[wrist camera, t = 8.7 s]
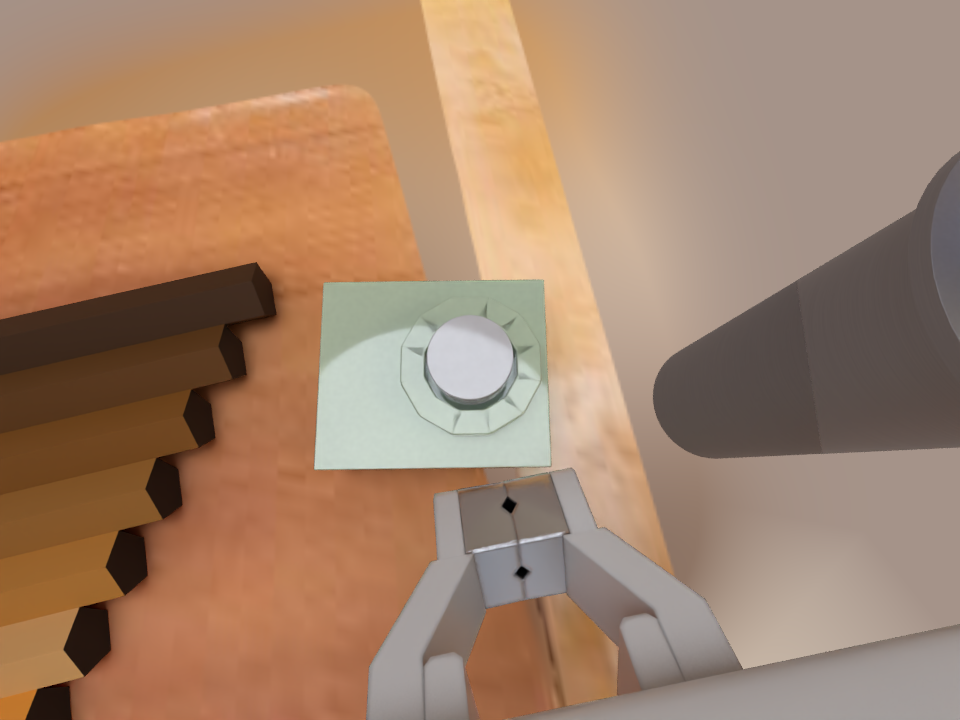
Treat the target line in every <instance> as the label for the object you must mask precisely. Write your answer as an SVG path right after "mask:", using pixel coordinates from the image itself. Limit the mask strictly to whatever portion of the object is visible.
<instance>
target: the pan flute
mask: <svg viewBox="0 0 960 720" xmlns="http://www.w3.org/2000/svg"><path fill="white" fill-rule="evenodd" d="M272 315H276V309H275V303H274V297H273V291H272V285H271V283H270V281H269V280H268V278H267V277H266V275H265V274H264V273H263V271H262V270H261V268H260V267H259V265H258V264H257V262H255V263H251V264H246V265H242V266H238V267H233V268H229V269H224V270H220V271H215V272H211V273H206V274H202V275H197V276H193V277H188V278H184V279H180V280H175V281H171V282H166V283H162V284H157V285H153V286H148V287H144V288H139V289H135V290H130V291H126V292H122V293H117V294H113V295H108V296H104V297H99V298H95V299H90V300H86V301H81V302H77V303H73V304H68V305H64V306H59V307H55V308H50V309H46V310H41V311H37V312H32V313H28V314H23V315H19V316H15V317H10V318H6V319H1V320H0V720H71V710H70V696H69V687H57V688H44V689H39V688H43V687H47V686H51V685H55V684H59V683H62V682H66V681H70V680H74V679H78V678H82V677H85V676H86V675H87V674H88V673H89V672H90V671H91V670H92V669H93V668H94V667H95V666H96V665H97V664H98V662H99V661H100V660H101V659H102V658H103V657H104V656H105V655H106V654H107V653H108V652H109V651H110V650H111V648H110V636H109V624H108V613H107V610H101V609H91V608H81V607H82V606H86V605H90V604H94V603H98V602H102V601H106V600H110V599H114V598H118V597H122V596H125V595H126V594H127V593H129V592H130V591H131V590H132V589H133V588H134V587H135V586H136V585H137V584H139V583H140V582H141V581H142V580H143V579H144V578H145V577H146V576H147V566H146V556H145V546H144V538H142V537H139V536H136V535H133V534H129V533H126V532H123V531H119V530H122V529H126V528H130V527H134V526H138V525H143V524H147V523H151V522H155V521H159V520H163V519H164V518H166V517H167V516H168V515H170V514H171V513H172V512H174V511H175V510H176V509H178V508H179V507H180V506H182V498H181V490H180V482H179V473H178V469H176V468H175V467H173V466H171V465H169V464H167V463H165V462H163V461H161V460H160V459H158V458H157V457H161V456H165V455H169V454H174V453H178V452H182V451H186V450H190V449H194V448H199V447H201V446H202V445H204V444H206V443H208V442H209V441H211V440H213V439H215V433H214V425H213V418H212V410H211V404H210V403H208V402H207V401H206V400H205V399H203V398H202V397H201V396H200V395H198V394H197V393H196V392H195V391H193V390H192V389H193V388H198V387H202V386H206V385H211V384H215V383H219V382H223V381H228V380H232V379H235V378H238V377H241V376H244V375H247V374H246V367H245V361H244V354H243V348H242V342H241V341H240V340H239V339H238V338H237V337H236V336H235V335H234V334H233V332H232V331H231V330H230V329H229V328H228V327H227V326H228V325H233V324H237V323H241V322H246V321H250V320H254V319H259V318H263V317H268V316H272Z"/></svg>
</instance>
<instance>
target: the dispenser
mask: <svg viewBox="0 0 960 720" xmlns="http://www.w3.org/2000/svg"><path fill="white" fill-rule="evenodd" d="M463 315H477V316H482V317H485V318H487V319H490V320H492V321H493V322H495V323H496V324H498V325H499V326H500V327H501V328H502V329H503V330H504V331H505V333H506V334H507V336H508V338H509V339H510V342H511V345H512V348H513V366H512V370H511V373H510V376H509V379H508V382H507V384H506V385H505V387H504V389H503V390H502V391H501V392H500V393H499V394H498V395H497V396H496V397H494V398H493V399H491V400H489V401H487V402H485V403H482V404H478V405H464V404H459V403H456V402H454V401H452V400H450V399H449V398H447V397H446V396H445V395H443V394H442V393H441V392H440V390H439V389H438V388H437V386H436V385H435V383H434V381H433V379H432V377H431V375H430V373H429V370H428V366H427V349H428V345H429V342H430V340H431V338H432V336H433V335H434V333H435V332H436V331H437V330H438V328H439V327H440V326H442V325H443V324H444V323H446V322H447V321H449V320H451V319H453V318H456V317H459V316H463ZM551 466H552V464H551V440H550V416H549V392H548V368H547V344H546V320H545V296H544V280H475V281H474V280H473V281H399V282H325V283H324V285H323V304H322V324H321V343H320V362H319V381H318V401H317V420H316V439H315V458H314V470H387V469H458V468H529V467H551Z"/></svg>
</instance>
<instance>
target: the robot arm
mask: <svg viewBox="0 0 960 720" xmlns="http://www.w3.org/2000/svg"><path fill="white" fill-rule="evenodd" d="M433 503H434V517H435V532H436V546H437V560H435V561H431V562H430V563H429V565H428V567H427V568H426V570H425V572H424V573H423V575H422V577H421V579H420V580H419V582H418V584H417V585H416V587H415V589H414V591H413V592H412V594H411V596H410V597H409V599H408V601H407V603H406V604H405V606H404V608H403V609H402V611H401V613H400V615H399V616H398V618H397V620H396V621H395V623H394V625H393V627H392V628H391V630H390V632H389V633H388V635H387V637H386V639H385V640H384V642H383V644H382V645H381V647H380V649H379V651H378V652H377V654H376V656H375V657H374V659H373V661H372V663H371V664H370V666H369V678H368V696H367V714H366V720H480V717H479V714H478V710H477V707H476V703H475V700H474V696H473V693H472V689H471V686H470V682H469V679H468V675H467V672H466V668H465V666H466V664H467V661H468V658H469V656H470V653H471V650H472V648H473V645H474V643H475V640H476V637H477V635H478V632H479V629H480V627H481V624H482V621H483V619H484V616H485V614H486V609H488V608H492V607H497V606H501V605H505V604H510V603H514V602H518V601H523V600H527V599H533V598H539V597H545V596H551V595H556V594H562V593H567V595H568V596H569V597H570V598H571V599H572V600H573V601H574V602H575V603H576V604H577V605H578V607H579V608H580V609H581V610H582V611H583V612H584V613H585V614H586V615H587V616H588V617H589V618H590V619H591V620H592V621H593V622H594V623H595V624H596V625H597V626H598V627H599V628H600V629H601V630H602V631H603V632H604V633H605V634H606V635H607V636H608V637H609V638H610V639H611V640H612V641H613V642H614V643H615V644H616V645H617V646H618V647H619V650H618V676H617V695H618V696H614V697H609V698H604V699H599V700H595V701H590V702H585V703H580V704H575V705H571V706H566V707H561V708H556V709H552V710H547V711H542V712H537V713H533V714H528V715H523V716H518V717H514V718H509V719H504V720H960V624H958V625H954V626H949V627H944V628H939V629H934V630H929V631H925V632H920V633H915V634H910V635H906V636H901V637H896V638H892V639H887V640H882V641H877V642H873V643H868V644H863V645H858V646H853V647H849V648H844V649H839V650H835V651H829V652H825V653H820V654H815V655H811V656H806V657H801V658H796V659H791V660H787V661H782V662H777V663H772V664H767V665H763V666H758V667H753V668H748V669H743V668H742V666H741V664H740V663H739V661H738V659H737V657H736V655H735V653H734V651H733V649H732V648H731V646H730V644H729V642H728V640H727V638H726V636H725V635H724V633H723V631H722V629H721V627H720V625H719V623H718V622H717V620H716V618H715V616H714V614H713V612H712V610H711V609H710V607H709V605H708V603H707V601H706V600H705V598H703V597H702V596H700V595H699V594H698V593H696V592H695V591H693V590H692V589H691V588H689V587H688V586H686V585H685V584H683V583H682V582H681V581H679V580H678V579H677V578H675V577H674V576H672V575H671V574H670V573H668V572H667V571H665V570H664V569H663V568H661V567H660V566H658V565H657V564H656V563H654V562H653V561H651V560H650V559H649V558H647V557H646V556H644V555H643V554H642V553H640V552H639V551H637V550H636V549H635V548H633V547H632V546H630V545H629V544H628V543H626V542H625V541H624V540H622V539H621V538H619V537H618V536H617V535H615V534H614V533H612V532H611V531H610V530H608V529H607V528H605V527H604V528H598V527H597V525H596V522H595V520H594V517H593V515H592V512H591V510H590V507H589V505H588V502H587V500H586V497H585V495H584V492H583V490H582V487H581V485H580V482H579V480H578V477H577V475H576V473H575V470H573V469H572V468H567V469H562V470H557V471H552V472H549V473H548V472H546V473H542V474H537V475H532V476H527V477H522V478H517V479H512V480H507V481H503V482H499V483H493V484H487V485H481V486H475V487H469V488H463V489H458V490H454V491H448V492H442V493H436V494H434V499H433Z"/></svg>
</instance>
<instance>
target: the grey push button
mask: <svg viewBox="0 0 960 720" xmlns="http://www.w3.org/2000/svg"><path fill="white" fill-rule="evenodd" d="M427 366H428V370H429V373H430V375H431V377H432V379H433V381H434V383H435V385H436V386H437V388H438V389H439V390H440V392H441V393H442V394H443V395H445V396H446V397H447V398H449V399H450V400H452V401H454V402H456V403H459V404H464V405H478V404H482V403H485V402H487V401H489V400H491V399H493V398H494V397H496V396H497V395H498V394H499V393H500V392H501V391H502V390H503V389H504V387H505V385H506V384H507V382H508V379H509V376H510V373H511V370H512V366H513V348H512V345H511V342H510V339H509V338H508V336H507V334H506V333H505V331H504V330H503V329H502V328H501V327H500V326H499V325H498V324H496V323H495V322H493V321H492V320H490V319H487V318H485V317H482V316H477V315H463V316H459V317H456V318H453V319H451V320H449V321H447V322H446V323H444V324H443V325H442V326H440V327H439V328H438V330H437V331H436V332H435V333H434V335H433V336H432V338H431V340H430V342H429V345H428V349H427Z"/></svg>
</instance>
